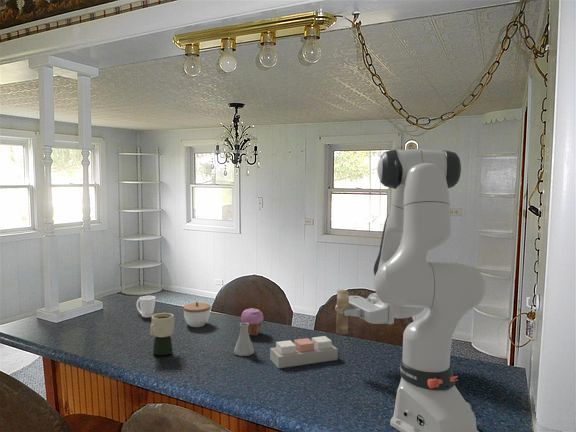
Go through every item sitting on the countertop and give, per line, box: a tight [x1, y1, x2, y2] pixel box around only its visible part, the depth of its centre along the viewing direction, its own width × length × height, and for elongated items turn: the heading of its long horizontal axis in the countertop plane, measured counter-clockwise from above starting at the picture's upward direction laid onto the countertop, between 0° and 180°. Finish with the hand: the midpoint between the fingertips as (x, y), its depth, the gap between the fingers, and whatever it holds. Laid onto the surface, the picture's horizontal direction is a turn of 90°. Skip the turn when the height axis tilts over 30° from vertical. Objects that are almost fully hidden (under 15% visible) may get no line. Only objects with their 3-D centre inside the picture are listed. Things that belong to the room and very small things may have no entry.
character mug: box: [149, 312, 176, 356], centre depth 145 cm, size 11×7×13 cm, turn 152°
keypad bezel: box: [269, 344, 339, 369], centre depth 142 cm, size 8×21×4 cm, turn 111°
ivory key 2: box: [311, 335, 333, 350], centre depth 145 cm, size 5×5×3 cm
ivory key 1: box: [275, 339, 296, 355], centre depth 140 cm, size 5×5×3 cm
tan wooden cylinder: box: [335, 289, 350, 335], centre depth 134 cm, size 4×4×13 cm
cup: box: [135, 295, 157, 318], centre depth 188 cm, size 7×10×8 cm
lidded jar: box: [183, 301, 211, 328], centre depth 176 cm, size 11×11×9 cm
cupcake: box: [240, 307, 264, 337], centre depth 166 cm, size 9×9×10 cm
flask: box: [233, 322, 255, 357], centre depth 147 cm, size 7×7×10 cm
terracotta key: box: [293, 337, 314, 353], centre depth 142 cm, size 5×5×3 cm
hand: (340, 310), depth 134 cm, fingers closed on tan wooden cylinder, 4 cm apart
